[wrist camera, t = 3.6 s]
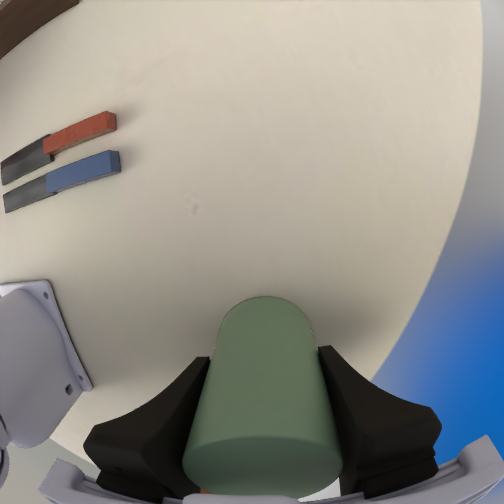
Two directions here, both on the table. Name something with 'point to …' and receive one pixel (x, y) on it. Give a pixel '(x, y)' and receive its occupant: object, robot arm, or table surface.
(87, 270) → the table surface
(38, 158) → the cutlery
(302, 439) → the can
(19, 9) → the backboard
